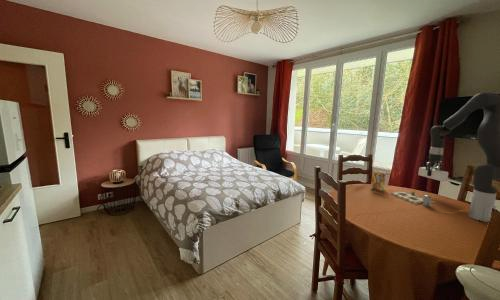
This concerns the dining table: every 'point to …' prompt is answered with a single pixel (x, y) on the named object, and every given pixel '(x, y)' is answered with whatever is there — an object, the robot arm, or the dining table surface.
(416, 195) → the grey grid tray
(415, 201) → the cream peg board
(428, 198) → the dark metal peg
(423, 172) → the grey housing
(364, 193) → the dining table surface
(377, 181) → the candy box
